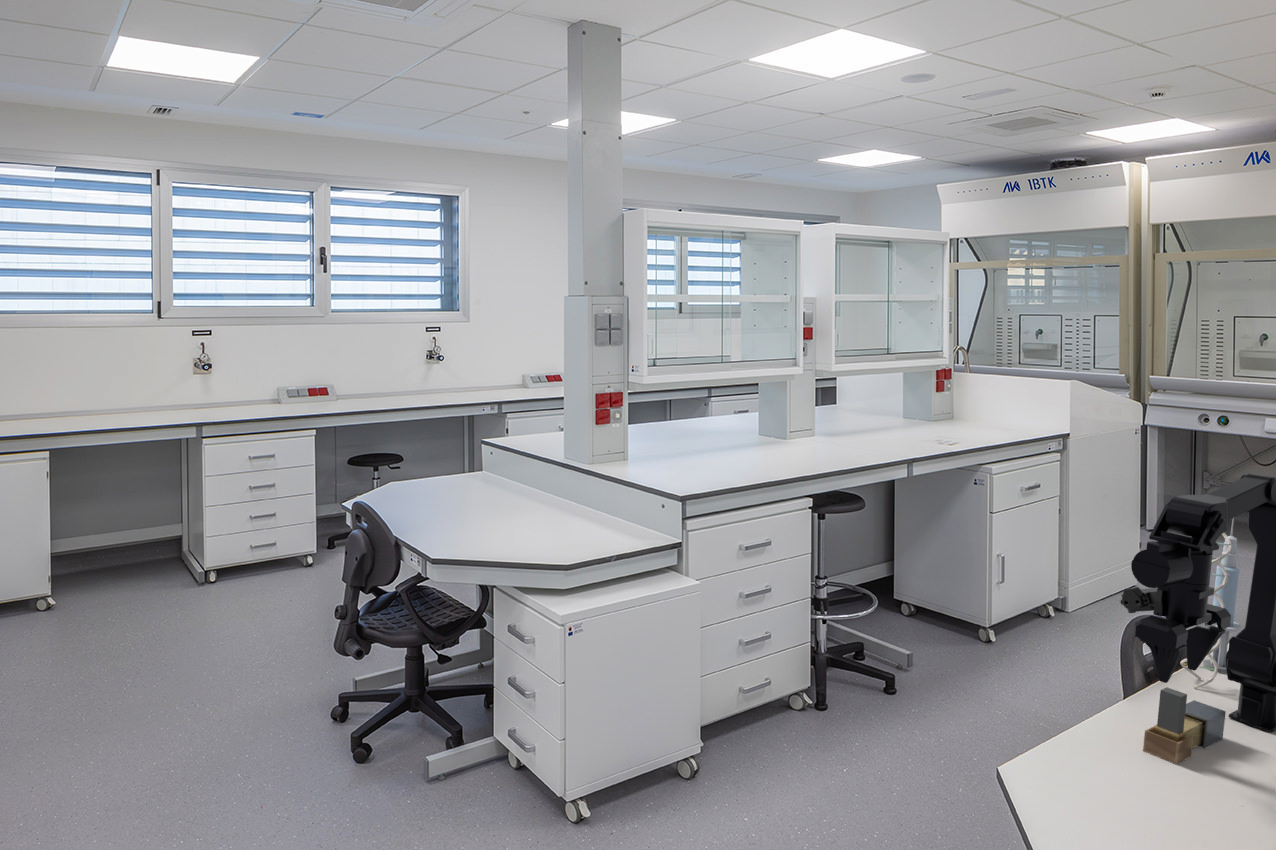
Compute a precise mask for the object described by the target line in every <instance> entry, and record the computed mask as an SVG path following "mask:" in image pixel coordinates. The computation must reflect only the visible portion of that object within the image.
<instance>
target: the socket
mask: <svg viewBox="0 0 1276 850" xmlns="http://www.w3.org/2000/svg"><path fill="white" fill-rule="evenodd" d="M1192 741H1193V736H1189V737H1187V738H1185V739H1183V740H1182V741H1180V742H1176V741H1173V740H1171V739H1168V738H1165V737H1163V736H1160V735H1158V734H1155V733H1154V726H1151V727H1150V728H1148V729H1145V730H1144V738H1143V747H1142V751H1143V752H1145V753H1147V752H1148V753H1147V754H1149V753H1150V755H1152V756H1155V757H1157V756H1158V757H1157V758H1159V757H1160V759H1161V760H1164V761H1166V760H1167V762H1169V761H1170V762H1169V763H1171V762H1173V763H1172V764H1174V763H1175V765H1176V764H1177V765H1179V764H1180V762H1181V763H1182V762H1184V761H1186V760H1187V758H1188V759H1189V757H1190V758H1191V756H1192V749H1193V748H1192ZM1185 759H1186V760H1185ZM1178 763H1179V764H1178Z"/></svg>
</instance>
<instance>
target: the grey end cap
mask: <svg viewBox="0 0 1276 850" xmlns="http://www.w3.org/2000/svg"><path fill="white" fill-rule="evenodd" d="M1226 712H1227V711H1226V710H1223V709H1220V708H1217V707H1214V706H1211V705H1208V704H1206V703H1203V702H1200V701H1198V700H1195V699H1194V700H1192V701H1190V702H1186V711H1185V714H1186V715H1189V716H1192V717H1195V718H1198V719H1200V720H1203V721H1206V722H1205V731H1204V740H1203V743H1201V744H1199V745H1198V746H1197V747H1199V748H1202V749H1207V748H1209V747H1210V746H1212V745H1214V744H1216V743H1218V742H1220V741H1221V740H1223V739H1224V732H1225V731H1224V729H1225V721H1226Z"/></svg>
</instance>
